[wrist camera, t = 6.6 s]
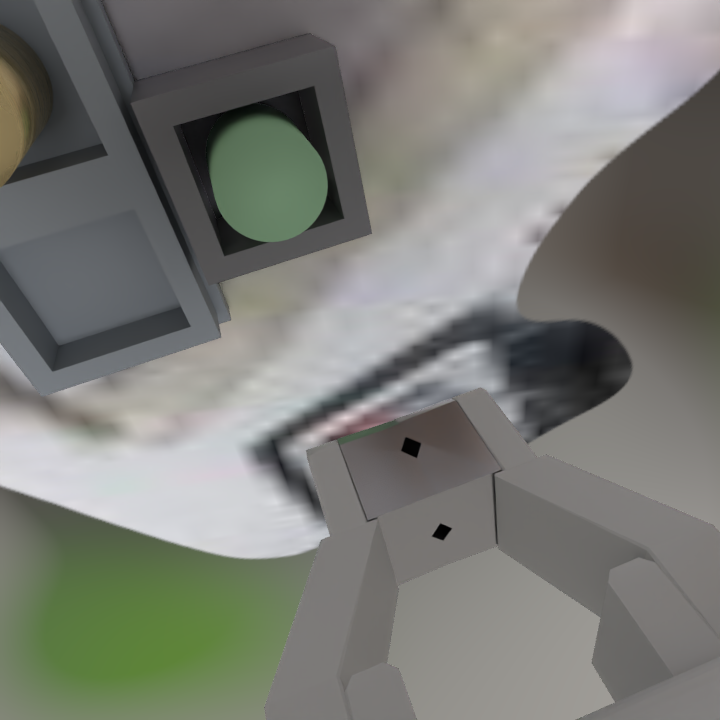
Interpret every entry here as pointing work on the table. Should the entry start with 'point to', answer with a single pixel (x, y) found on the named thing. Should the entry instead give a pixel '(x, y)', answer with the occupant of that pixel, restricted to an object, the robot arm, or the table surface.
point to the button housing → (236, 89)
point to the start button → (264, 173)
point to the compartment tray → (92, 220)
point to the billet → (20, 100)
